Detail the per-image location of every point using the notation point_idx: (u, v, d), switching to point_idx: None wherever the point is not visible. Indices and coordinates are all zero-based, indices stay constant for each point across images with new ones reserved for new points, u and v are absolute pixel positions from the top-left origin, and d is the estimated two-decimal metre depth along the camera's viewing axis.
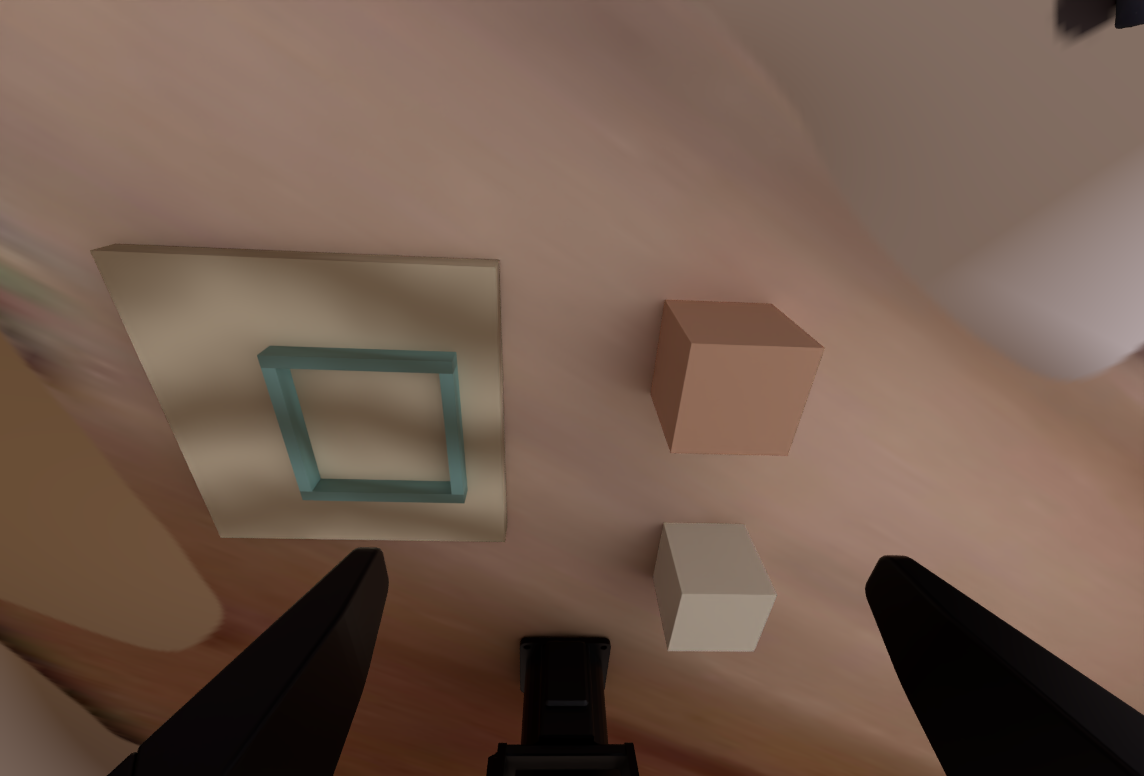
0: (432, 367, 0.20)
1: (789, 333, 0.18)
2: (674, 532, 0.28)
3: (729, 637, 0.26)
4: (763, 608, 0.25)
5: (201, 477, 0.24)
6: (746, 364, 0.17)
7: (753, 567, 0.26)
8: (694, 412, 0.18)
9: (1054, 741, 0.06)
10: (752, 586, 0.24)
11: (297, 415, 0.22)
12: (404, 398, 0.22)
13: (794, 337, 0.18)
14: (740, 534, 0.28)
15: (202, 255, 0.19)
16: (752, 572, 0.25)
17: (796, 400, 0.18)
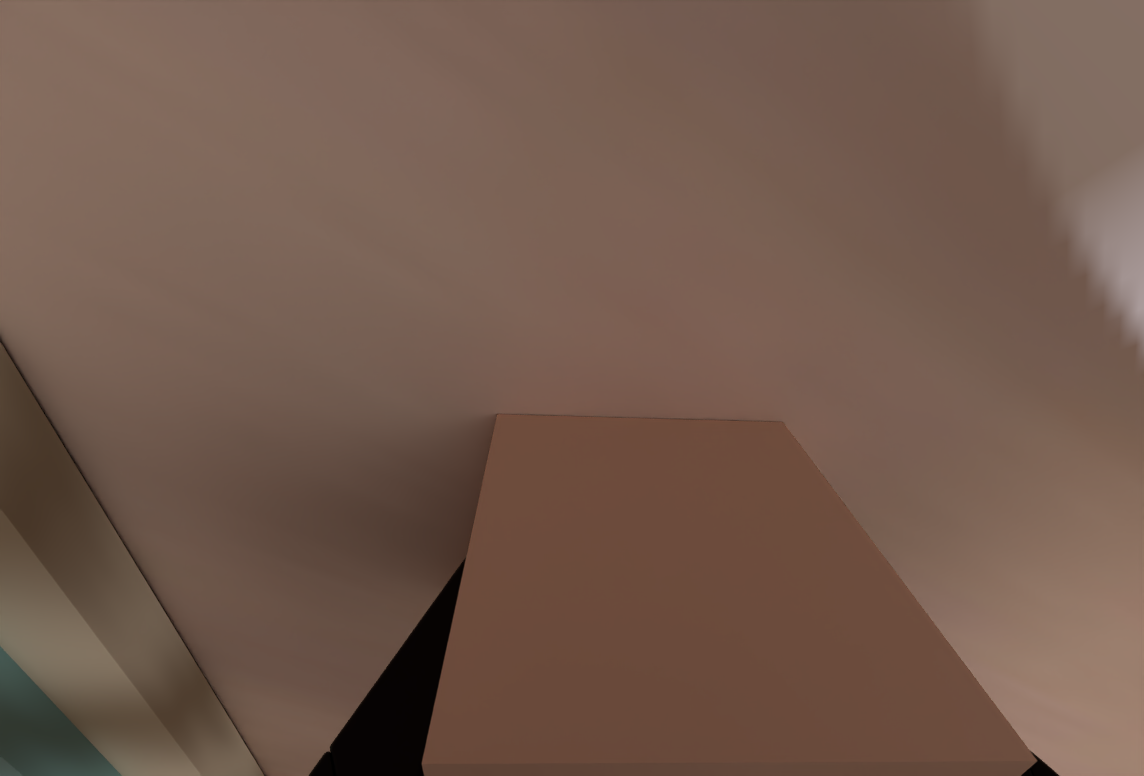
0: None
1: (858, 612, 0.05)
2: None
3: None
4: None
5: None
6: None
7: None
8: None
9: None
10: None
11: None
12: None
13: (883, 650, 0.05)
14: None
15: None
16: None
17: None
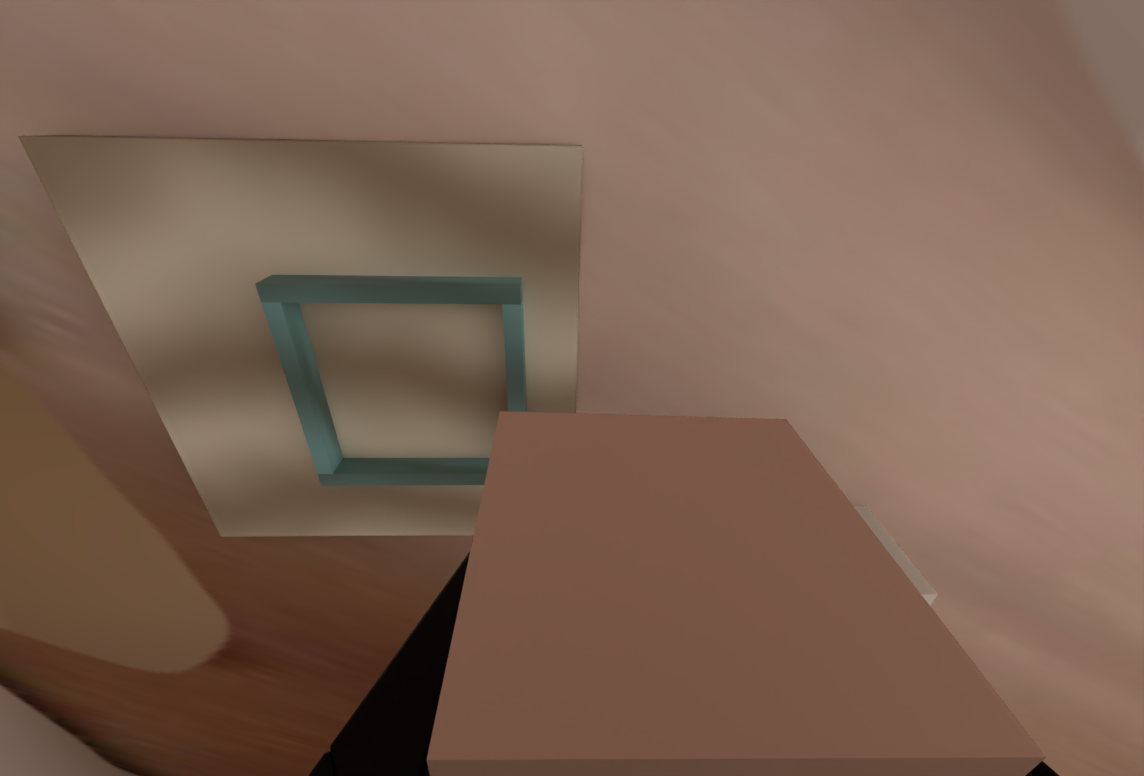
0: (492, 295, 0.15)
1: (864, 609, 0.05)
2: None
3: None
4: None
5: (192, 460, 0.19)
6: None
7: (895, 559, 0.20)
8: None
9: None
10: None
11: (311, 372, 0.17)
12: (451, 346, 0.17)
13: (889, 646, 0.05)
14: (866, 518, 0.22)
15: (174, 138, 0.13)
16: None
17: None
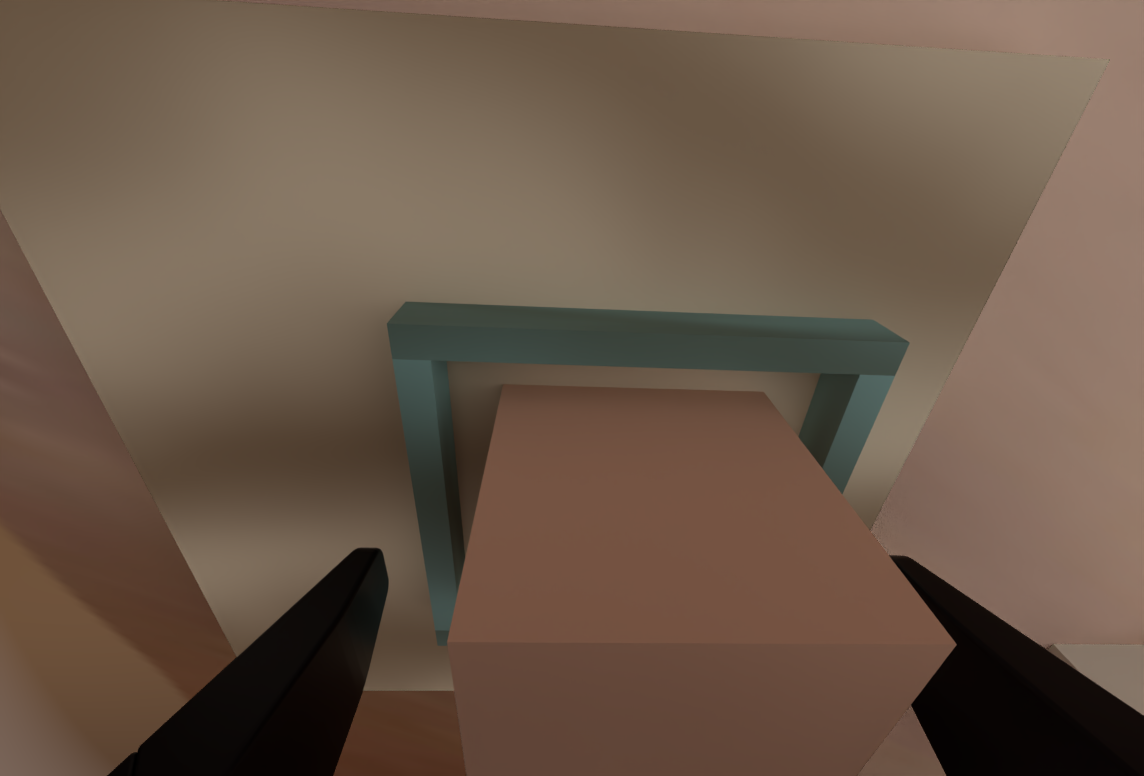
0: (849, 358, 0.07)
1: (817, 539, 0.06)
2: (1090, 667, 0.15)
3: None
4: None
5: (219, 592, 0.11)
6: (667, 686, 0.05)
7: None
8: None
9: (1054, 741, 0.06)
10: None
11: (452, 473, 0.09)
12: None
13: (836, 566, 0.05)
14: None
15: None
16: None
17: (840, 753, 0.06)
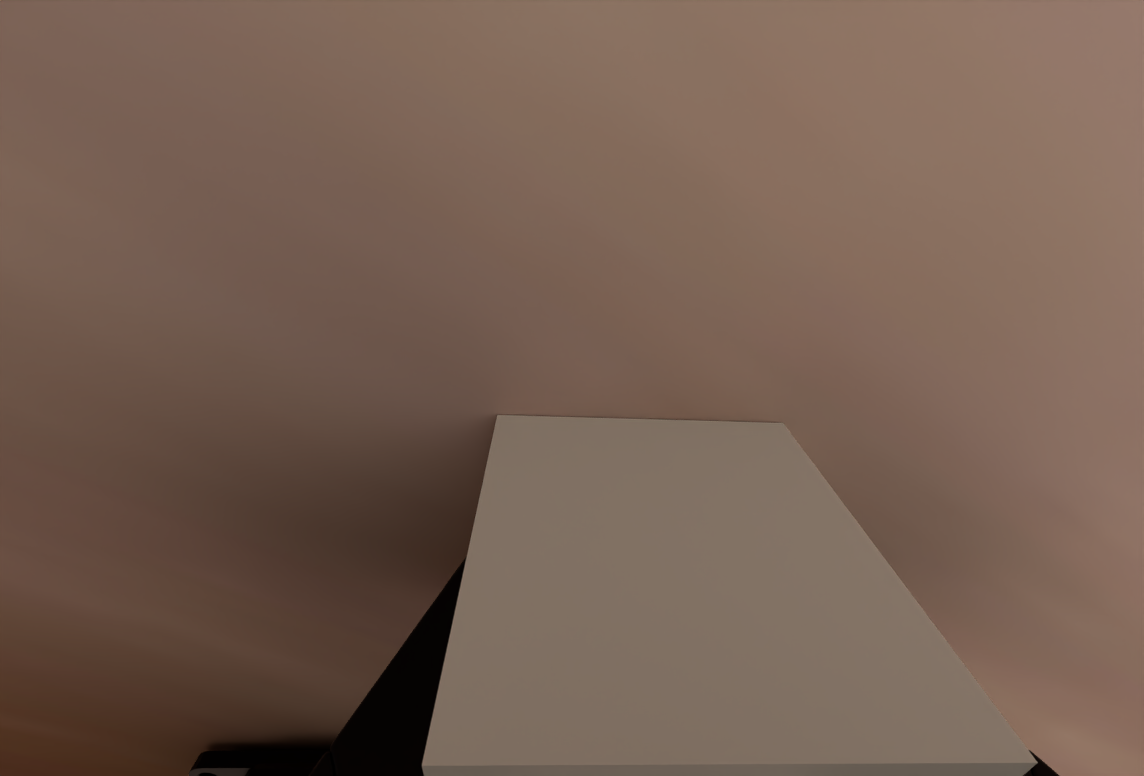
0: None
1: None
2: (522, 445, 0.07)
3: None
4: None
5: None
6: None
7: (852, 582, 0.05)
8: None
9: None
10: (872, 700, 0.04)
11: None
12: None
13: None
14: (776, 453, 0.07)
15: None
16: (851, 609, 0.05)
17: None
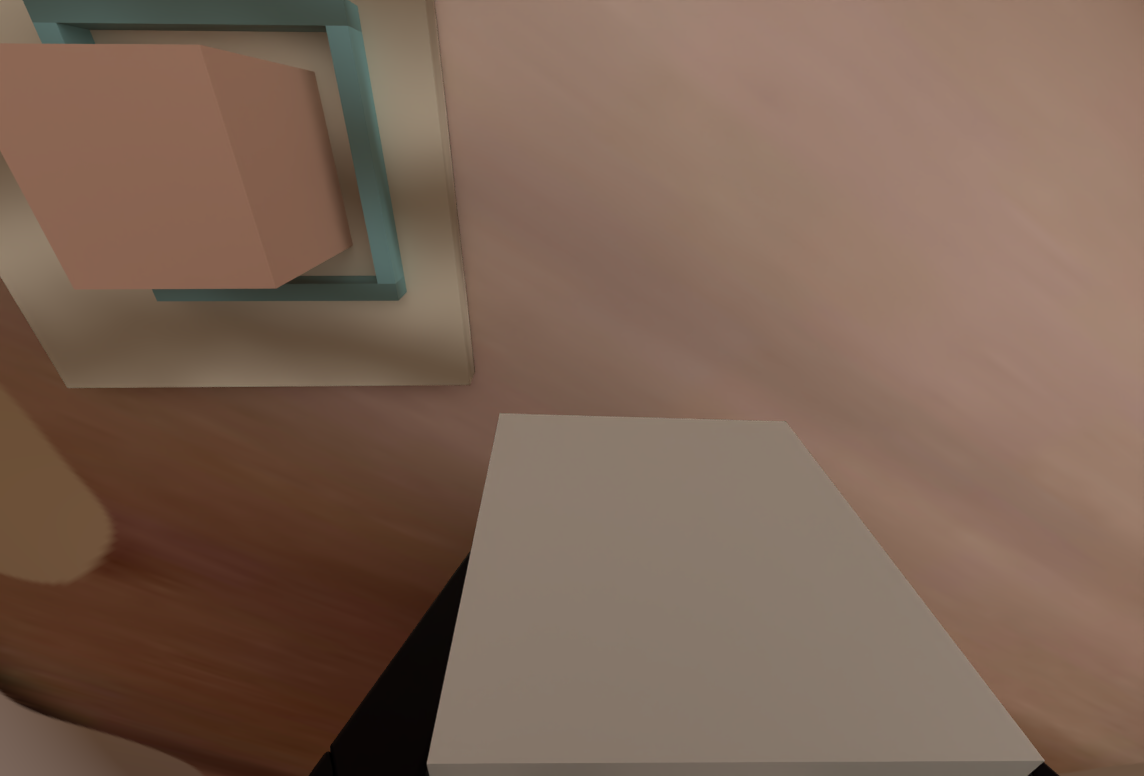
0: (311, 12, 0.12)
1: None
2: (525, 443, 0.07)
3: None
4: None
5: (13, 279, 0.16)
6: (76, 89, 0.10)
7: (856, 581, 0.05)
8: (57, 203, 0.11)
9: None
10: (877, 697, 0.04)
11: None
12: None
13: None
14: (778, 451, 0.07)
15: None
16: (856, 607, 0.05)
17: (222, 170, 0.10)
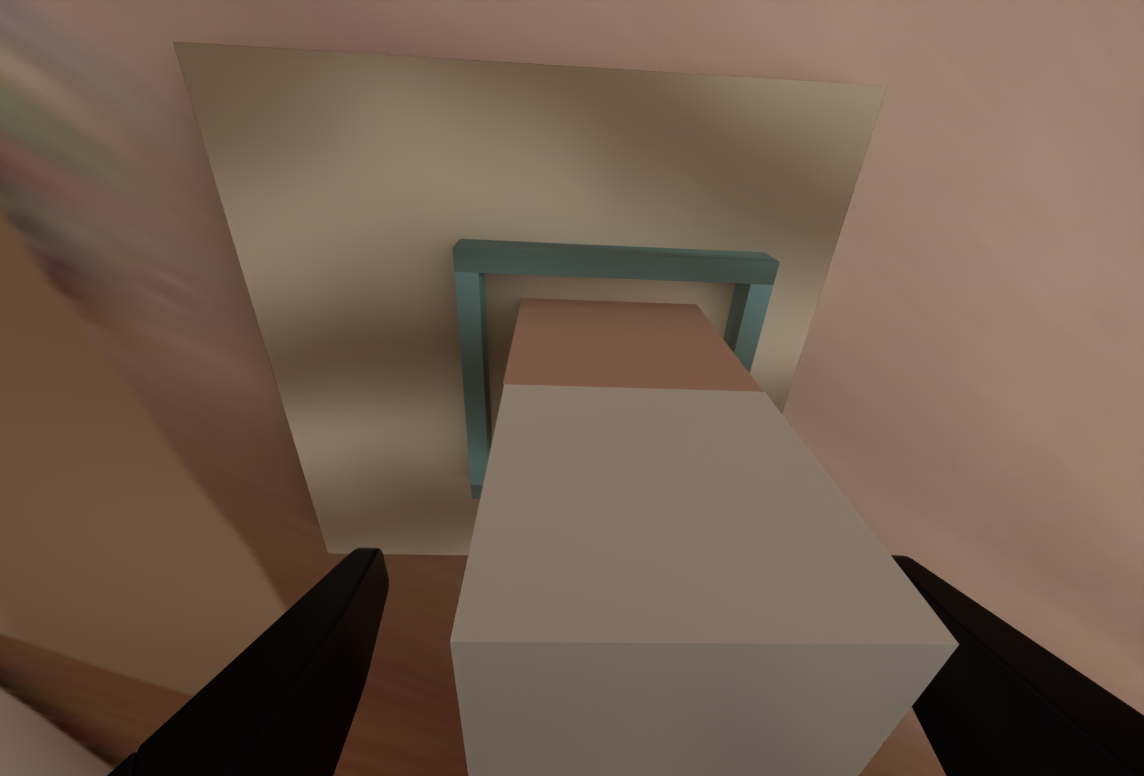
0: (742, 272, 0.12)
1: (706, 360, 0.10)
2: (528, 409, 0.08)
3: None
4: (872, 705, 0.05)
5: (313, 464, 0.16)
6: None
7: (817, 516, 0.06)
8: None
9: (1054, 741, 0.06)
10: (825, 601, 0.05)
11: (486, 361, 0.14)
12: None
13: (712, 368, 0.10)
14: (756, 416, 0.08)
15: (374, 54, 0.10)
16: (814, 536, 0.06)
17: None
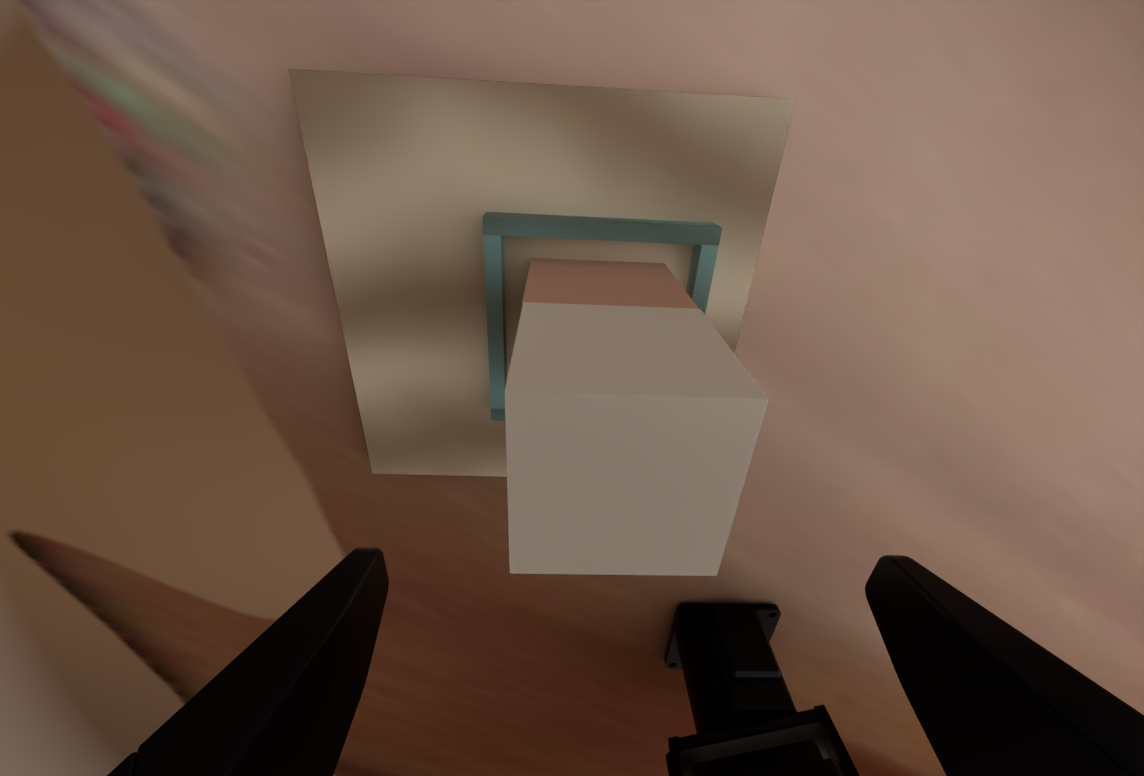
0: (695, 236, 0.16)
1: (663, 293, 0.14)
2: (539, 313, 0.12)
3: (652, 536, 0.11)
4: (732, 446, 0.09)
5: (365, 394, 0.20)
6: None
7: (712, 358, 0.10)
8: None
9: (1054, 741, 0.06)
10: (704, 385, 0.09)
11: (504, 307, 0.18)
12: None
13: (666, 297, 0.14)
14: (690, 319, 0.12)
15: (429, 77, 0.14)
16: (707, 365, 0.10)
17: None
